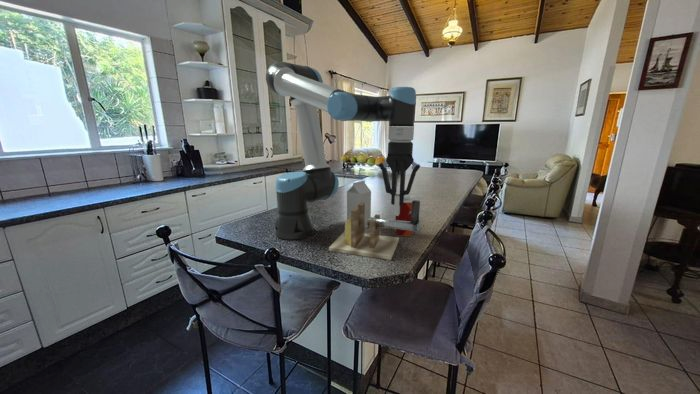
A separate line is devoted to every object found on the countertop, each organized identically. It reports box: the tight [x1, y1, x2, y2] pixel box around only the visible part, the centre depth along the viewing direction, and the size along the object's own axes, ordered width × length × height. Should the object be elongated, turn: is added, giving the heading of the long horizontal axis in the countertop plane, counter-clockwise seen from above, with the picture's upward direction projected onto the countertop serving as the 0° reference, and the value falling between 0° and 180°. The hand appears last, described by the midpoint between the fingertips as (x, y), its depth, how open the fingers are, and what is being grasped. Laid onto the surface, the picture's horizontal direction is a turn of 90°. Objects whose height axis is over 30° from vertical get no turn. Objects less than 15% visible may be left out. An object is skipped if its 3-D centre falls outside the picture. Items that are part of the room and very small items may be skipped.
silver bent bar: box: [367, 199, 422, 235], centre depth 90 cm, size 17×4×11 cm, turn 71°
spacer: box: [344, 217, 351, 245], centre depth 96 cm, size 2×8×8 cm, turn 161°
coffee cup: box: [394, 193, 417, 237], centre depth 106 cm, size 8×8×15 cm
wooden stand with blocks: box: [328, 202, 400, 261], centre depth 95 cm, size 21×16×14 cm
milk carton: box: [346, 180, 372, 229], centre depth 113 cm, size 7×7×19 cm
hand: (396, 214), depth 90 cm, fingers closed
